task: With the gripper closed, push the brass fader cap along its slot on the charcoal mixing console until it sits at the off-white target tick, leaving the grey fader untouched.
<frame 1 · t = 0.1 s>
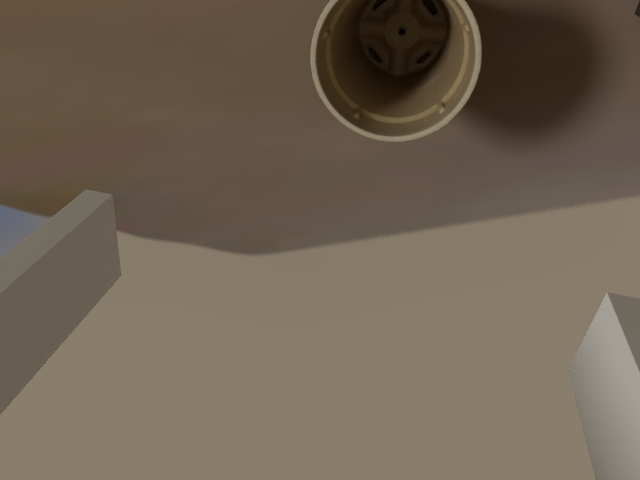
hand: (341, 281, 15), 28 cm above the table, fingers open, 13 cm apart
flower pot: (404, 30, 38), on the table
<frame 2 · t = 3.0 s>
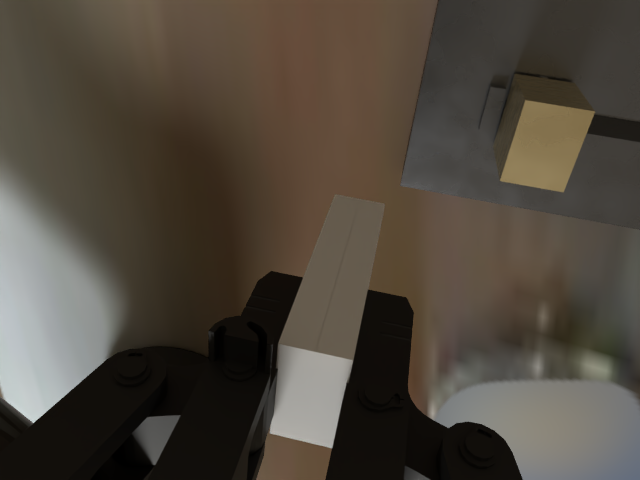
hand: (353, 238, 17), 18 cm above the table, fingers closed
brass fader: (538, 130, 27), point 5 cm above the table, slide at 0.0 cm
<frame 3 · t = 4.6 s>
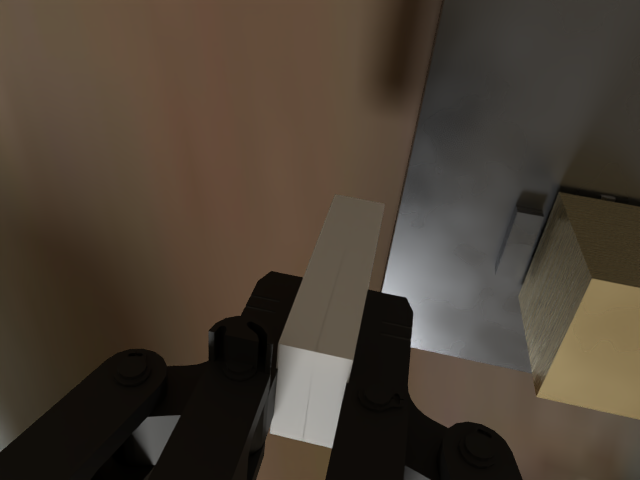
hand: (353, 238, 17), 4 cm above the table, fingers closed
brass fader: (602, 300, 15), point 5 cm above the table, slide at 0.0 cm
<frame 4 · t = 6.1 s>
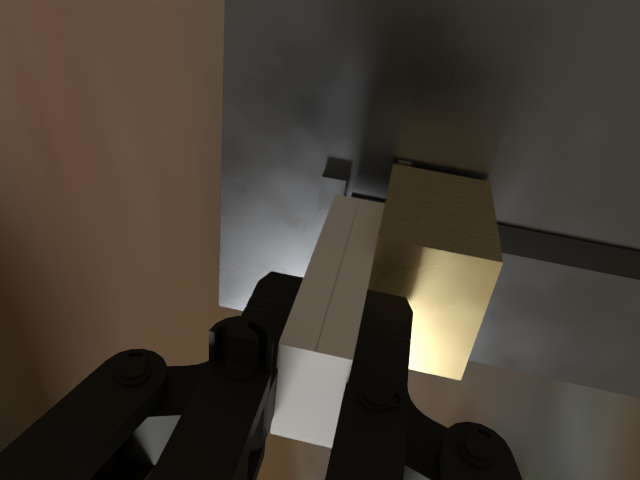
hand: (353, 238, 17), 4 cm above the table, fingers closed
brass fader: (424, 265, 16), point 5 cm above the table, slide at 1.2 cm, touching gripper
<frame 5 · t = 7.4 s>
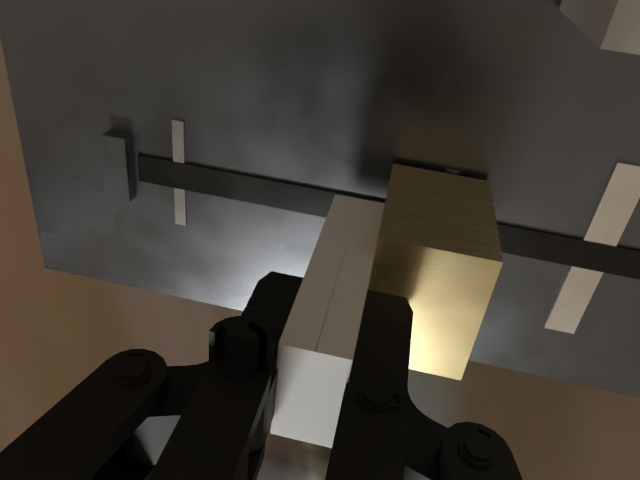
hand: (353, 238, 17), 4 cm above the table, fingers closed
console: (471, 73, 17), on the table
brass fader: (424, 265, 16), point 5 cm above the table, slide at 8.7 cm, touching gripper
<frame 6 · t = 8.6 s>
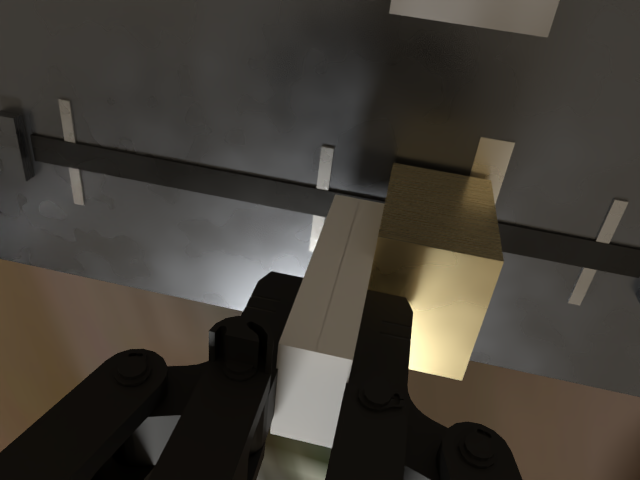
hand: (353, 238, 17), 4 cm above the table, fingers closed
console: (348, 52, 18), on the table
brass fader: (425, 265, 16), point 5 cm above the table, slide at 12.6 cm, touching gripper
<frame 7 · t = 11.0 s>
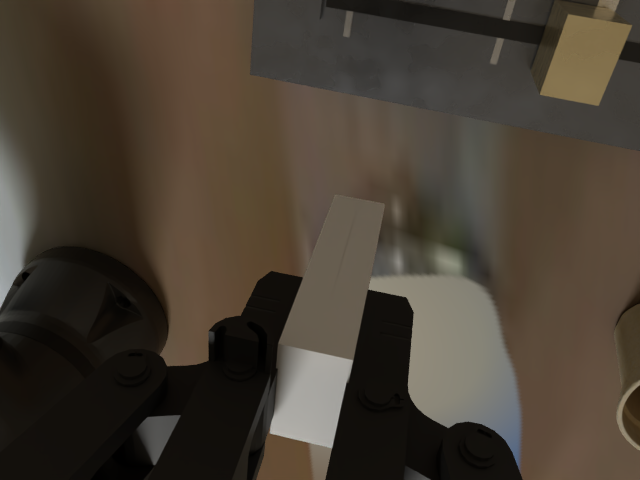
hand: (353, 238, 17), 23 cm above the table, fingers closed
brass fader: (576, 51, 29), point 5 cm above the table, slide at 12.7 cm
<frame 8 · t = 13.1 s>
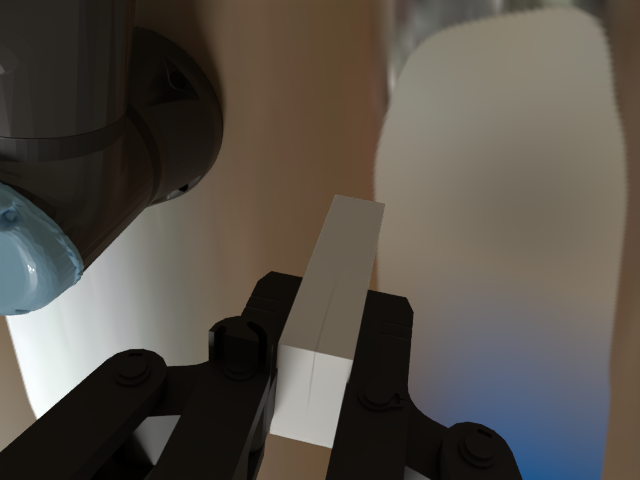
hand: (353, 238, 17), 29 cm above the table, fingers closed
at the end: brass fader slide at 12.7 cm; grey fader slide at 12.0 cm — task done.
